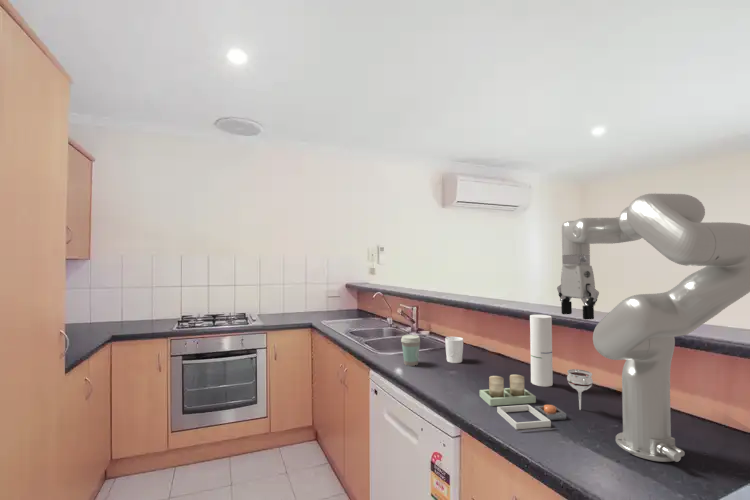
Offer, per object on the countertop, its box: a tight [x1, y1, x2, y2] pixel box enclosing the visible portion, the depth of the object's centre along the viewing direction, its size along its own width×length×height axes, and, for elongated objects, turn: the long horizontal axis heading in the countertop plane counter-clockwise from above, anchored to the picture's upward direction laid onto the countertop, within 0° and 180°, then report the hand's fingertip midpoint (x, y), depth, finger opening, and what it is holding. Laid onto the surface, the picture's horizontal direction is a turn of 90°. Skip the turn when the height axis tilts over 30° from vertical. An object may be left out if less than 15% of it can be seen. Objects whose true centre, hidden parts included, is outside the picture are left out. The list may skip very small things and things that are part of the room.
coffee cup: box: [400, 334, 421, 367], centre depth 163 cm, size 8×8×12 cm
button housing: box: [534, 404, 567, 421], centre depth 108 cm, size 6×6×2 cm
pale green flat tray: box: [479, 387, 537, 407], centre depth 120 cm, size 8×15×3 cm, turn 98°
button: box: [543, 404, 557, 413], centre depth 108 cm, size 3×3×3 cm
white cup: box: [444, 336, 464, 364], centre depth 167 cm, size 8×8×10 cm
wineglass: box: [566, 368, 594, 411], centre depth 112 cm, size 7×7×12 cm
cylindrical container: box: [529, 314, 554, 388], centre depth 135 cm, size 7×7×25 cm
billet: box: [488, 375, 505, 398], centre depth 120 cm, size 4×4×7 cm
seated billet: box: [509, 374, 525, 396], centre depth 121 cm, size 4×4×7 cm
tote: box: [496, 404, 552, 432], centre depth 106 cm, size 11×10×2 cm
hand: (577, 316), depth 115 cm, fingers open, 9 cm apart
